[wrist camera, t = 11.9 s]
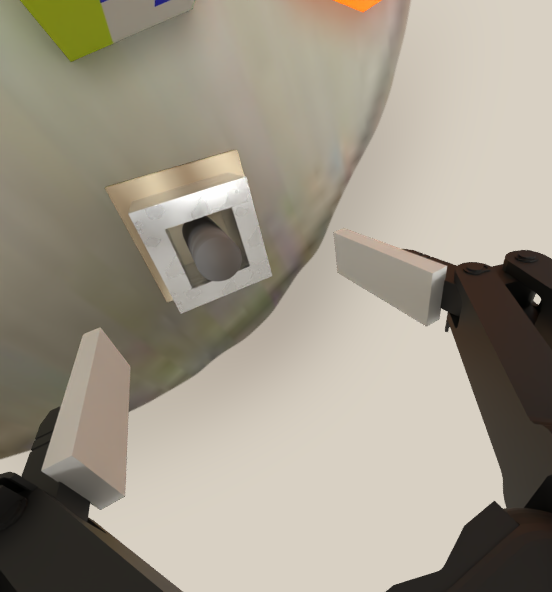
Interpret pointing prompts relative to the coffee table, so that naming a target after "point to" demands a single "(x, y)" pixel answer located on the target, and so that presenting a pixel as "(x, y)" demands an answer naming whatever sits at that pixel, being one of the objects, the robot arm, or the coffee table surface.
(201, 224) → the shaft block
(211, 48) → the coffee table surface
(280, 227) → the coffee table surface
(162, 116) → the coffee table surface
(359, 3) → the orange juice
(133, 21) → the puzzle toy
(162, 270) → the frame
